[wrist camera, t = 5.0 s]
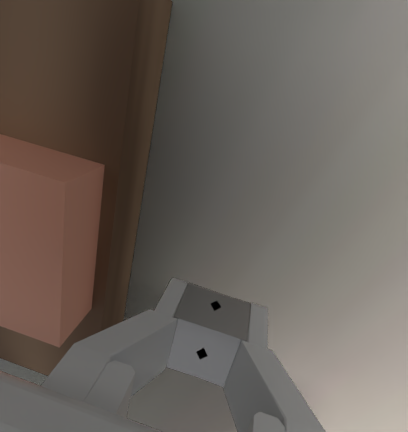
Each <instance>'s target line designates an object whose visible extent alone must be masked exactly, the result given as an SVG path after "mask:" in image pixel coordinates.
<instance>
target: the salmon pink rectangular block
mask: <svg viewBox="0 0 408 432" xmlns="http://www.w3.org/2000/svg"><path fill="white" fill-rule="evenodd" d="M104 167H105V165H103V164H100V163H97V162H93V161H90V160H86V159H83V158H80V157H76V156H73V155H70V154H66V153H63V152H59V151H56V150H53V149H49V148H46V147H43V146H39V145H36V144H32V143H29V142H26V141H22V140H19V139H15V138H12V137H9V136H5V135H2V134H0V326H1V327H4V328H7V329H10V330H12V331H15V332H18V333H21V334H23V335H26V336H29V337H32V338H34V339H37V340H40V341H43V342H45V343H48V344H51V345H54V346H57V347H59V348H60V346H61V345H62V344H63V343H64V341H65V340H66V339H67V338H68V337H69V335H70V334H71V333H72V332H73V331H74V329H75V328H76V327H77V326H78V324H79V323H80V322H81V321H82V320H83V318H84V317H85V316H86V315H87V314H88V312H89V311H90V310H91V309H92V298H93V287H94V276H95V265H96V254H97V243H98V233H99V222H100V211H101V200H102V189H103V178H104Z"/></svg>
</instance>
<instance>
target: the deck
mask: <svg viewBox="0 0 408 432" xmlns="http://www.w3.org/2000/svg"><path fill="white" fill-rule="evenodd" d="M171 8H172V1H171V0H0V134H2V135H5V136H9V137H12V138H15V139H19V140H22V141H26V142H29V143H32V144H36V145H39V146H43V147H46V148H49V149H53V150H56V151H59V152H63V153H66V154H70V155H73V156H76V157H80V158H83V159H86V160H90V161H93V162H97V163H100V164H103V165H105V167H104V178H103V189H102V200H101V211H100V222H99V233H98V243H97V254H96V265H95V276H94V287H93V298H92V309H91V310H90V311H89V312H88V314H87V315H86V316H85V317H84V318H83V320H82V321H81V322H80V323H79V324H78V326H77V327H76V328H75V329H74V331H73V332H72V333H71V334H70V335H69V337H68V338H67V339H66V340H65V341H64V343H63V344H62V345H61V346H60V348H59V347H57V346H54V345H51V344H48V343H45V342H43V341H40V340H37V339H34V338H32V337H29V336H26V335H23V334H21V333H18V332H15V331H12V330H10V329H7V328H4V327H1V326H0V358H2V359H4V360H7V361H10V362H12V363H15V364H18V365H20V366H23V367H26V368H28V369H31V370H34V371H36V372H39V373H42V374H44V375H47V376H49V375H50V373H51V372H52V371H53V369H54V368H55V367H56V366H57V364H58V363H59V362H60V361H61V359H62V358H63V357H64V355H65V354H66V353H67V352H68V350H69V349H70V348H71V347H72V345H73V344H74V343H76V342H79V341H81V340H83V339H85V338H87V337H90V336H92V335H94V334H96V333H98V332H100V331H103V330H105V329H107V328H109V327H111V326H114V325H116V324H118V323H120V322H122V321H123V319H124V313H125V306H126V300H127V293H128V287H129V280H130V274H131V267H132V261H133V254H134V248H135V241H136V235H137V228H138V222H139V215H140V209H141V202H142V196H143V189H144V183H145V176H146V170H147V163H148V157H149V151H150V144H151V138H152V131H153V125H154V118H155V112H156V105H157V99H158V92H159V86H160V79H161V73H162V66H163V60H164V53H165V47H166V40H167V34H168V27H169V21H170V14H171Z"/></svg>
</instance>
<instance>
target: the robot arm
mask: <svg viewBox="0 0 408 432" xmlns="http://www.w3.org/2000/svg"><path fill="white" fill-rule="evenodd" d="M166 367H167V368H170V369H173V370H176V371H180V372H183V373H186V374H189V375H192V376H195V377H198V378H200V379H203V380H206V381H208V382H211V383H213V384H216V385H219V386H221V387H224V388H223V390H224V393H225V396H226V399H227V402H228V405H229V408H230V410H231V413H232V416H233V419H234V422H235V425H236V428H237V431H238V432H325V430H324V428H323V427H322V425H321V424H320V422H319V421H318V419H317V418H316V416H315V415H314V413H313V412H312V410H311V409H310V407H309V405H308V404H307V402H306V401H305V399H304V398H303V396H302V395H301V393H300V392H299V390H298V389H297V387H296V386H295V384H294V383H293V381H292V379H291V378H290V376H289V375H288V373H287V372H286V370H285V369H284V367H283V366H282V364H281V363H280V361H279V360H278V358H277V356H276V355H275V353H274V352H273V351H272V350H270V349H268V309H267V307H265V306H261V305H258V304H254V303H249V302H246V301H243V300H240V299H236V298H233V297H230V296H227V295H224V294H221V293H218V292H215V291H213V290H210V289H207V288H204V287H201V286H198V285H195V284H192V283H188V282H186V281H183V280H180V279H177V278H174V277H173V278H172V279H171V280H170V282H169V284H168V285H167V287H166V289H165V291H164V293H163V295H162V297H161V298H160V300H159V302H158V304H157V306H156V308H155V310H154V311H153V310H150V309H149V310H147V311H144V312H142V313H140V314H138V315H136V316H133V317H131V318H129V319H127V320H125V321H122V322H120V323H118V324H116V325H114V326H111V327H109V328H107V329H105V330H103V331H100V332H98V333H96V334H94V335H92V336H90V337H87V338H85V339H83V340H81V341H79V342H76V343H74V344H73V345H72V347H71V348H70V349H69V350H68V352H67V353H66V354H65V355H64V357H63V358H62V359H61V361H60V362H59V363H58V364H57V366H56V367H55V368H54V369H53V371H52V372H51V373H50V375H49V376H48V377H47V378H46V380H45V381H44V382H43V383H42V385H41V386H39V385H37V384H34V383H31V382H29V381H26V380H23V379H21V378H18V377H15V376H13V375H10V374H7V373H5V372H2V371H0V432H162V431H160V430H157V429H154V428H152V427H149V426H146V425H144V424H141V423H138V422H136V421H133V420H130V419H128V418H127V413H128V408H129V402H130V397H131V396H132V395H134V394H135V393H136V392H137V391H139V390H140V389H141V388H142V387H144V386H145V385H146V384H147V383H149V382H150V381H151V380H153V379H154V378H155V377H156V376H158V375H159V374H160V373H161V372H163V371H164V370H165V369H166Z"/></svg>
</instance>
